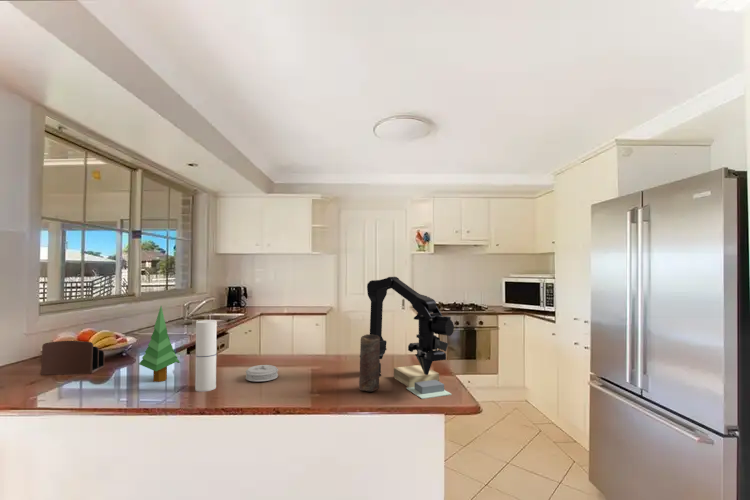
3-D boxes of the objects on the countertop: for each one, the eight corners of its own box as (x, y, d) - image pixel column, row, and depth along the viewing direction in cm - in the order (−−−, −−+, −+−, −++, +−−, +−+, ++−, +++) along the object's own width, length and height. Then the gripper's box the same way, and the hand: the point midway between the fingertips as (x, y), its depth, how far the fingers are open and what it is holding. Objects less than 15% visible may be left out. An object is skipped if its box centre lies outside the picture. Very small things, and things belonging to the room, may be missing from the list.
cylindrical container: (195, 392, 146) (196, 323, 146) (194, 387, 152) (195, 320, 153) (217, 389, 149) (217, 322, 149) (214, 384, 155) (215, 319, 156)
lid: (238, 381, 160) (238, 368, 160) (261, 373, 172) (261, 361, 172) (262, 385, 154) (262, 372, 155) (284, 377, 166) (284, 365, 166)
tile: (414, 382, 149) (414, 389, 149) (422, 387, 143) (422, 394, 143) (435, 379, 152) (435, 386, 152) (444, 384, 147) (444, 391, 147)
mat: (422, 399, 139) (422, 398, 139) (406, 388, 150) (406, 387, 150) (451, 394, 144) (451, 393, 144) (434, 384, 155) (434, 384, 155)
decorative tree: (132, 380, 160) (133, 305, 160) (173, 372, 171) (174, 302, 172) (144, 388, 150) (145, 308, 151) (187, 379, 162) (188, 304, 162)
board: (409, 387, 151) (409, 377, 152) (393, 377, 164) (393, 367, 164) (439, 383, 156) (439, 373, 156) (421, 374, 169) (421, 364, 169)
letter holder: (91, 374, 169) (92, 340, 170) (40, 375, 167) (40, 341, 167) (104, 367, 179) (105, 336, 180) (56, 369, 177) (57, 337, 177)
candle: (382, 388, 151) (382, 334, 151) (376, 394, 144) (376, 338, 144) (363, 386, 153) (363, 333, 154) (356, 392, 146) (356, 337, 147)
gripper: (458, 335, 145) (459, 379, 144) (432, 327, 162) (432, 366, 161) (431, 337, 140) (431, 382, 140) (407, 328, 158) (407, 369, 157)
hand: (426, 374), depth 150 cm, fingers closed
